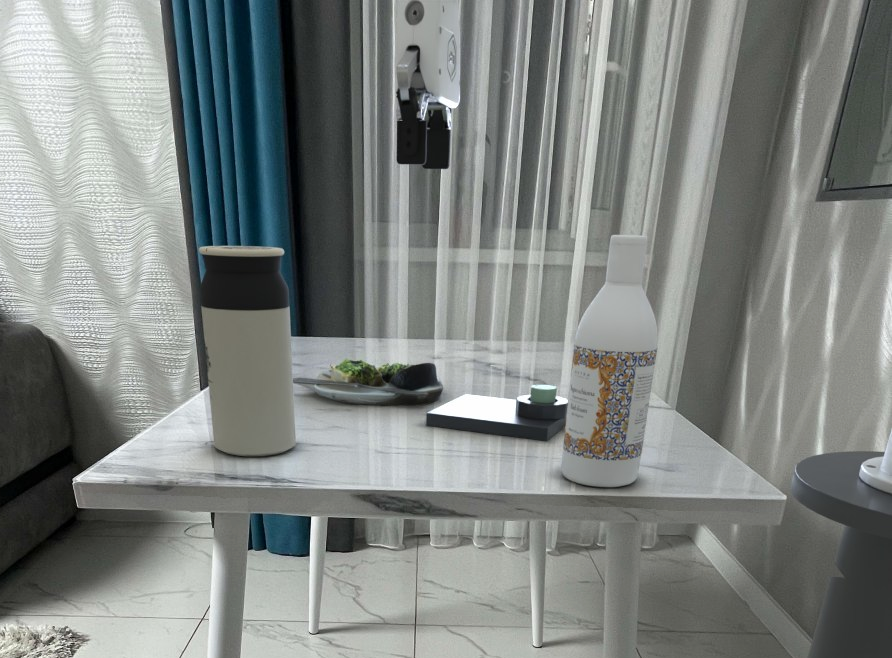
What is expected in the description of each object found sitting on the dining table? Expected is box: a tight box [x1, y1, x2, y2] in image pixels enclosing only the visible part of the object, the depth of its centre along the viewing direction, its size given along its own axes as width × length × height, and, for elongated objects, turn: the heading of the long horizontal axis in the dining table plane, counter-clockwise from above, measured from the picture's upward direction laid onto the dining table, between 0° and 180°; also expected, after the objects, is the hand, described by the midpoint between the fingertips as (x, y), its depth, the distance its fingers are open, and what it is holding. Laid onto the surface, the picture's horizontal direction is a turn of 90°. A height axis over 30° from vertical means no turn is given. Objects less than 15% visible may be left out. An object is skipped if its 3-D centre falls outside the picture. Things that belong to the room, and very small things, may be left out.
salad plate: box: [293, 358, 444, 406], centre depth 104 cm, size 19×18×5 cm
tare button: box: [529, 384, 557, 403], centre depth 90 cm, size 3×3×2 cm
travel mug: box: [198, 245, 297, 457], centre depth 76 cm, size 8×8×18 cm
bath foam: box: [560, 234, 659, 488], centre depth 70 cm, size 7×7×20 cm
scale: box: [425, 393, 568, 442], centre depth 92 cm, size 14×12×3 cm
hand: (424, 166), depth 91 cm, fingers open, 9 cm apart
